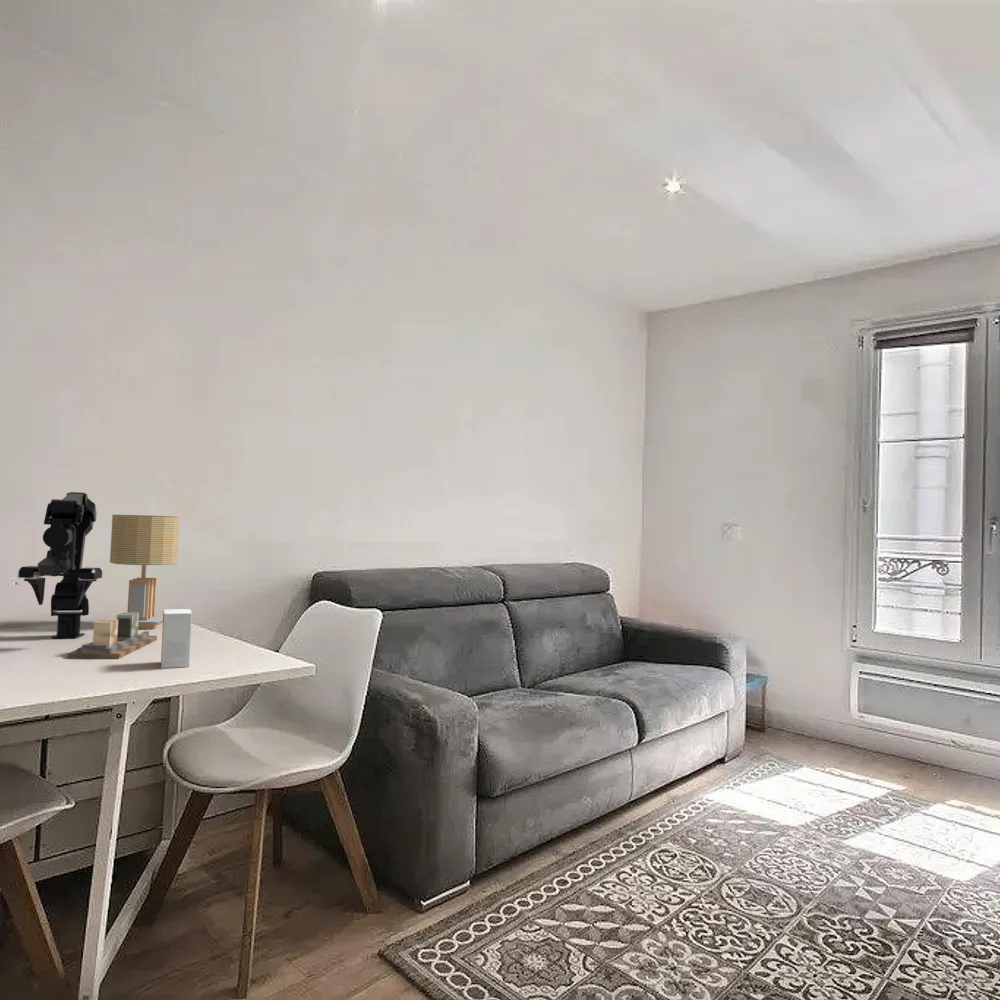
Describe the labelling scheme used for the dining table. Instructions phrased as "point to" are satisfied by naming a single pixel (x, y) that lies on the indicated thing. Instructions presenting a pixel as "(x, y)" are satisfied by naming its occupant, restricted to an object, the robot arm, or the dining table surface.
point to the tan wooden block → (105, 632)
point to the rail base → (118, 640)
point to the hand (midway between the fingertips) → (59, 605)
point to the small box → (176, 638)
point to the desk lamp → (144, 557)
